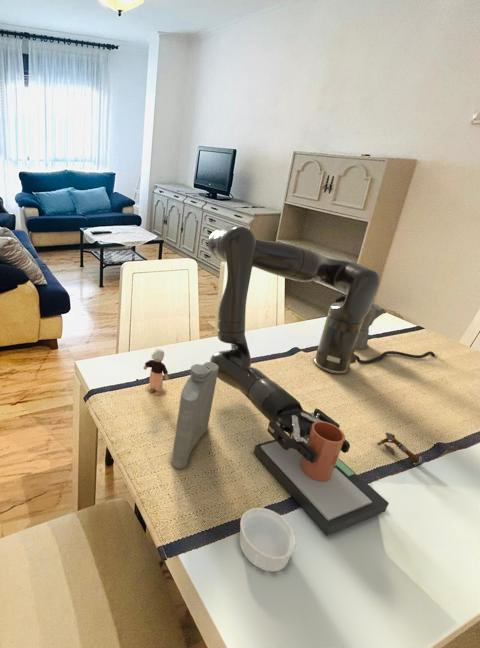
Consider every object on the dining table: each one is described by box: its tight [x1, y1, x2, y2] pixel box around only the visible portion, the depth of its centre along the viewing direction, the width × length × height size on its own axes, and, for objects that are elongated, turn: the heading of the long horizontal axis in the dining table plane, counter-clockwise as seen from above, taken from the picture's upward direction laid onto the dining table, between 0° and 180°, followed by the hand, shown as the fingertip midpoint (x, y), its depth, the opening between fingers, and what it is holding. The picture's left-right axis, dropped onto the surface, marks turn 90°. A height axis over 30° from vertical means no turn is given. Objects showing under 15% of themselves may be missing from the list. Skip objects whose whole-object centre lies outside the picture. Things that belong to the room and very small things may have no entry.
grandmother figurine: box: [143, 348, 170, 396], centre depth 102 cm, size 8×4×13 cm, turn 65°
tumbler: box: [300, 421, 346, 482], centre depth 76 cm, size 6×6×10 cm
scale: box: [253, 435, 390, 537], centre depth 79 cm, size 15×20×3 cm
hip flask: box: [170, 361, 219, 470], centre depth 83 cm, size 16×4×20 cm, turn 148°
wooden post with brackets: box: [376, 431, 423, 467], centre depth 87 cm, size 2×8×4 cm, turn 48°
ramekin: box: [239, 507, 297, 573], centre depth 65 cm, size 9×9×4 cm
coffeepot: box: [334, 295, 387, 350], centre depth 133 cm, size 15×9×18 cm, turn 44°
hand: (332, 454), depth 74 cm, fingers open, 8 cm apart
